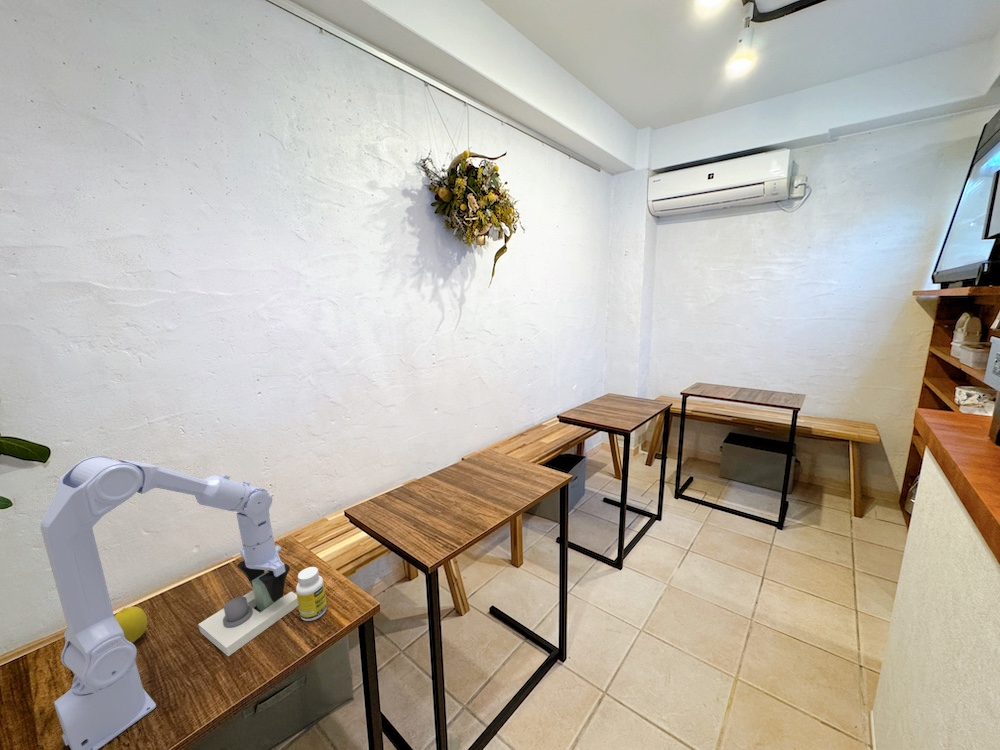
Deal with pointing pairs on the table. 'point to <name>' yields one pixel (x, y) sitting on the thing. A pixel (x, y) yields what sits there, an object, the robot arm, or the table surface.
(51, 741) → the table surface
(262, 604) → the block
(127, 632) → the lemon
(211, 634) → the notched board
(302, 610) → the supplement bottle
